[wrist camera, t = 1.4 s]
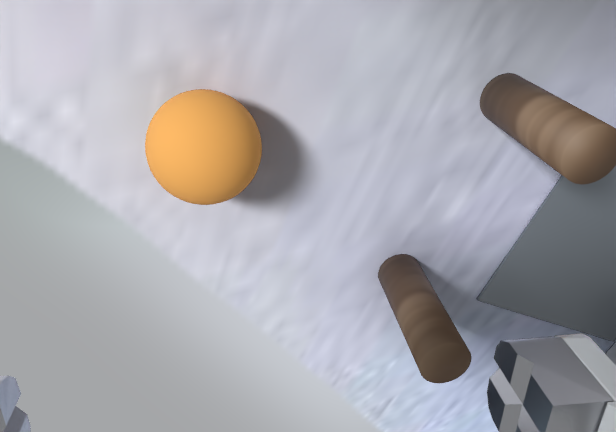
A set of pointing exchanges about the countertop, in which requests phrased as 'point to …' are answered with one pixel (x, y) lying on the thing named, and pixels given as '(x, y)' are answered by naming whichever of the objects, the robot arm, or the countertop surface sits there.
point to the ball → (203, 147)
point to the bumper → (612, 353)
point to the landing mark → (565, 261)
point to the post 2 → (551, 128)
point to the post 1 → (423, 320)
